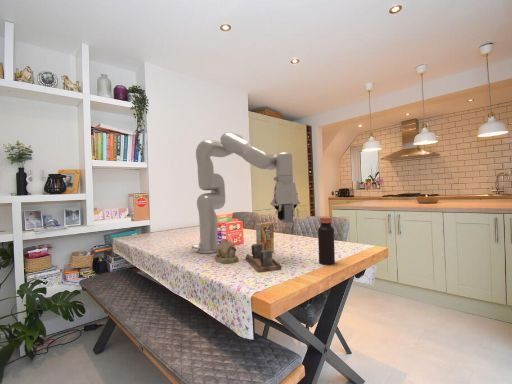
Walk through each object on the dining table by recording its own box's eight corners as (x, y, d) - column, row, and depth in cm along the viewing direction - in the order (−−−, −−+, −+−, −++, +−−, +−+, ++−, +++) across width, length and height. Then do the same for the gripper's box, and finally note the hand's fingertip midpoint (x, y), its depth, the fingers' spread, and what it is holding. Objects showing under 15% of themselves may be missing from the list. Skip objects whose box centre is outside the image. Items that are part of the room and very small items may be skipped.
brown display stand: (258, 272, 109) (257, 254, 109) (245, 259, 129) (245, 244, 128) (281, 269, 112) (280, 251, 112) (265, 257, 131) (265, 242, 131)
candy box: (269, 250, 145) (268, 221, 145) (274, 251, 142) (273, 222, 142) (256, 253, 140) (255, 223, 139) (261, 254, 137) (260, 224, 136)
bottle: (327, 266, 115) (326, 219, 114) (315, 262, 120) (314, 217, 120) (338, 262, 119) (336, 217, 118) (325, 259, 124) (324, 216, 124)
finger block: (283, 222, 122) (283, 205, 122) (278, 221, 128) (278, 204, 128) (292, 222, 123) (292, 204, 123) (287, 220, 129) (287, 203, 129)
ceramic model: (210, 258, 133) (209, 238, 133) (230, 255, 139) (230, 235, 139) (223, 265, 121) (222, 243, 121) (244, 261, 127) (244, 239, 127)
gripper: (270, 180, 119) (271, 221, 119) (305, 179, 124) (305, 219, 124) (264, 180, 126) (265, 219, 127) (297, 179, 131) (298, 217, 132)
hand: (285, 218), depth 126 cm, fingers closed on finger block, 4 cm apart
